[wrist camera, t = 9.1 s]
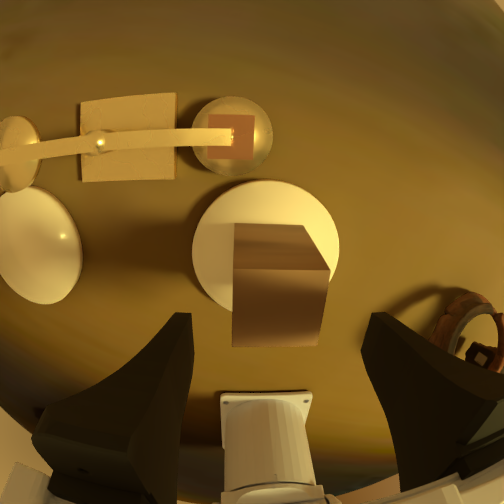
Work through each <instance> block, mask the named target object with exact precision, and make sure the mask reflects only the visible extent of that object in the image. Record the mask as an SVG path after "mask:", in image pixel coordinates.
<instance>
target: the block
mask: <svg viewBox="0 0 504 504" xmlns="http://www.w3.org/2000/svg"><path fill="white" fill-rule="evenodd" d="M330 273H331V270H330V268H329V266H328V265H327V263H326V261H325V260H324V258H323V256H322V255H321V253H320V252H319V250H318V248H317V247H316V245H315V243H314V242H313V240H312V238H311V237H310V235H309V234H308V232H307V230H306V229H305V227H304V226H303V225H287V224H255V223H234V250H233V294H232V347H295V346H317V343H318V338H319V333H320V328H321V323H322V318H323V312H324V307H325V302H326V296H327V291H328V285H329V279H330Z"/></svg>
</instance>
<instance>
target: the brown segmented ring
mask: <svg viewBox="0 0 504 504" xmlns="http://www.w3.org/2000/svg"><path fill="white" fill-rule="evenodd" d="M480 314H490V315H491V316H492V317H493V319H494V321H495V323H496V326H497V330H498V347H497V348H496V347H491V346H484V345H483V344H481V343H477V342H473V343H472V344H471V346H470V348H469V349H468V350H467V351H466V353H465V355H466V358H465V361H466V362H469V363H471V364H474V365H476V366H479V367H482V368H485V369H488V370H491V371H494V372H498V373H502V374H504V314H503V313H497V312H496V310H495V309H494V307H492V305H491V303H490V302H489V301H488V300H487V299H486V298H485V297H483V296H482V295H480V294H477V293H475V292H469V293H466V294H464V295H463V296H461V297H459V298H458V299H456V300H455V301H454V302H452V303H451V304H450V305H449V306H447V307H446V309H445V315H442V316H441V317H440V319H439V320H438V322H437V325H436V328H435V330H434V332H433V334H432V336H431V337H430V338H429V340H428V341H429V342H431V343H432V344H434V345H436V346H437V347H439V348H441V349H442V350H444V351H446V352H448V353H450V354H452V355H454V354H455V349H456V345H457V342H458V339H459V336H460V334H461V332H462V330H463V329H464V327H465V326H466V325H467V323H468V322H470V321H471V320H472V319H473V318H474V317H476V316H477V315H480Z"/></svg>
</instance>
